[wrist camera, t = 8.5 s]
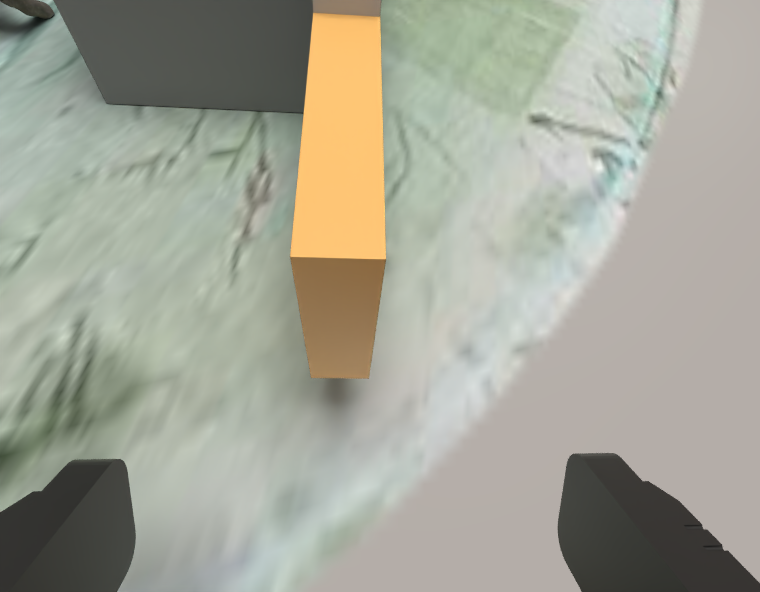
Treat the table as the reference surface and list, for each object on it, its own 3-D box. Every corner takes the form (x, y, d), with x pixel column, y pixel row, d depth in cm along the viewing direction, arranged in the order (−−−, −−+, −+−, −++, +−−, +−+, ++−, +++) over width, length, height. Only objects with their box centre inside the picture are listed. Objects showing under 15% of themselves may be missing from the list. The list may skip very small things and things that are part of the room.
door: (314, 398, 15) (284, 223, 7) (333, 56, 23) (328, -194, 15) (365, 398, 15) (390, 226, 7) (366, 58, 23) (377, -190, 16)
